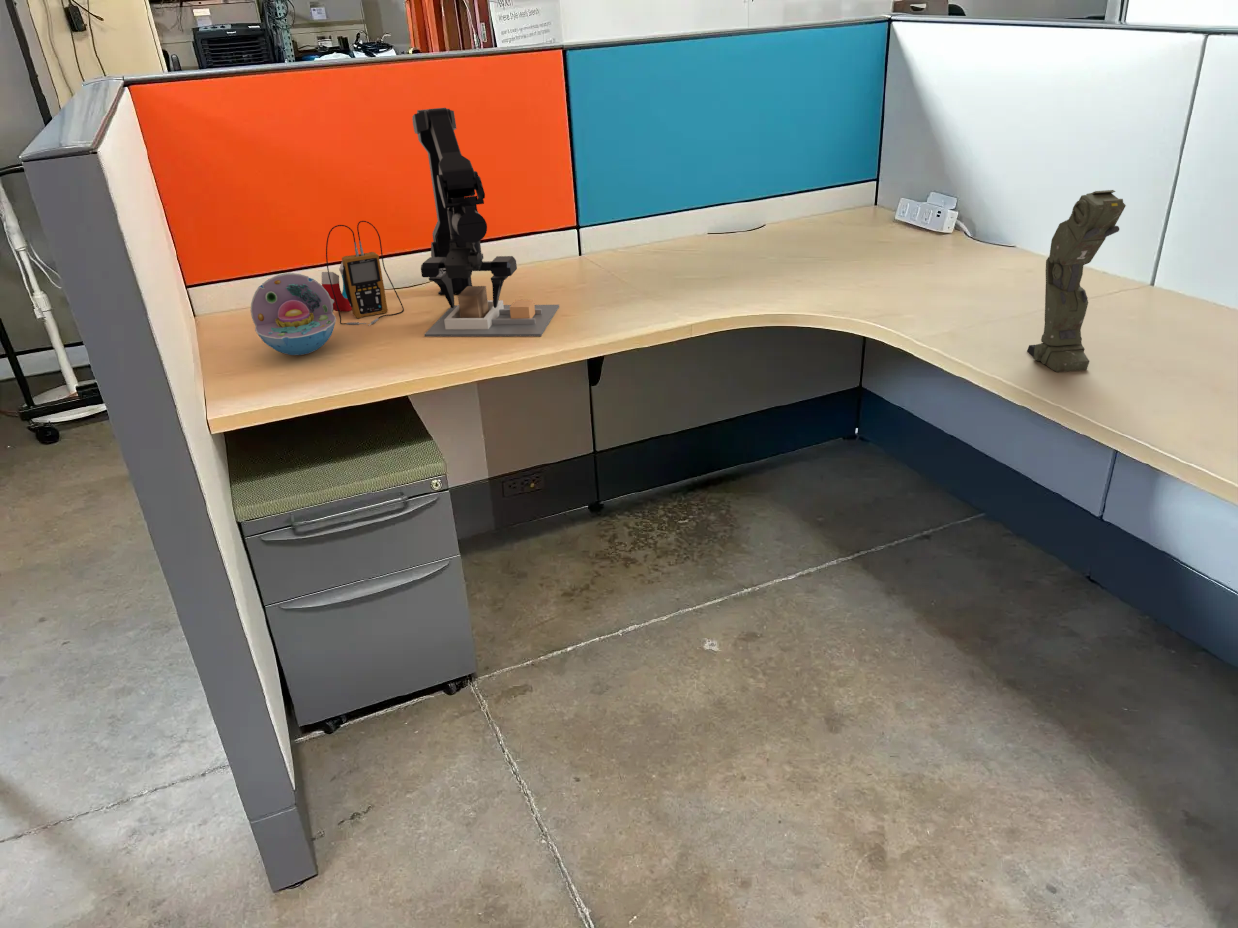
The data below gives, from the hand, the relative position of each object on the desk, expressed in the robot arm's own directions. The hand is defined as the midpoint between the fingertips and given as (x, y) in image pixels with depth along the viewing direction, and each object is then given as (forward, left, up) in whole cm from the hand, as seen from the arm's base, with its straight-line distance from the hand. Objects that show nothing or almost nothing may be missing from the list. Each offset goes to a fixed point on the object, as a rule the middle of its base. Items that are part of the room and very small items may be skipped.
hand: (474, 307), depth 186 cm
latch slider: (+10, 0, -3) cm, 11 cm away
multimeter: (-23, +2, -3) cm, 23 cm away
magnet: (-32, +8, -3) cm, 33 cm away
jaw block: (0, 0, -2) cm, 2 cm away
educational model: (-30, -18, -3) cm, 35 cm away
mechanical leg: (+109, -23, -3) cm, 111 cm away
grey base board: (+4, 0, -3) cm, 5 cm away
